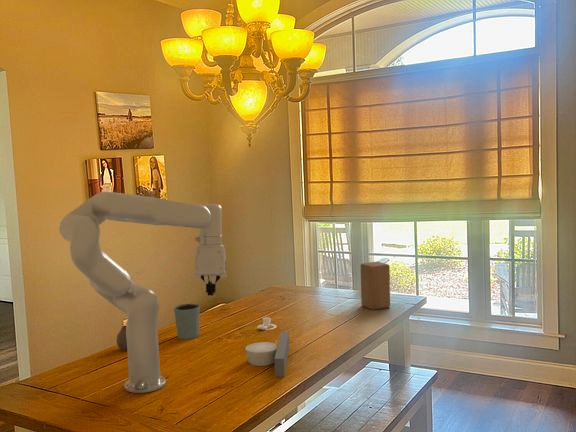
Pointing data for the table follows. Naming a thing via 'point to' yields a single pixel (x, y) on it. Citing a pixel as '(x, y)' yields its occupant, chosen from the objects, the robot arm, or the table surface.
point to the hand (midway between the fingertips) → (210, 294)
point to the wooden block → (375, 285)
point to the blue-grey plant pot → (187, 320)
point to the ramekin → (261, 353)
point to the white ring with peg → (266, 324)
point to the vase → (122, 339)
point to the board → (282, 354)
